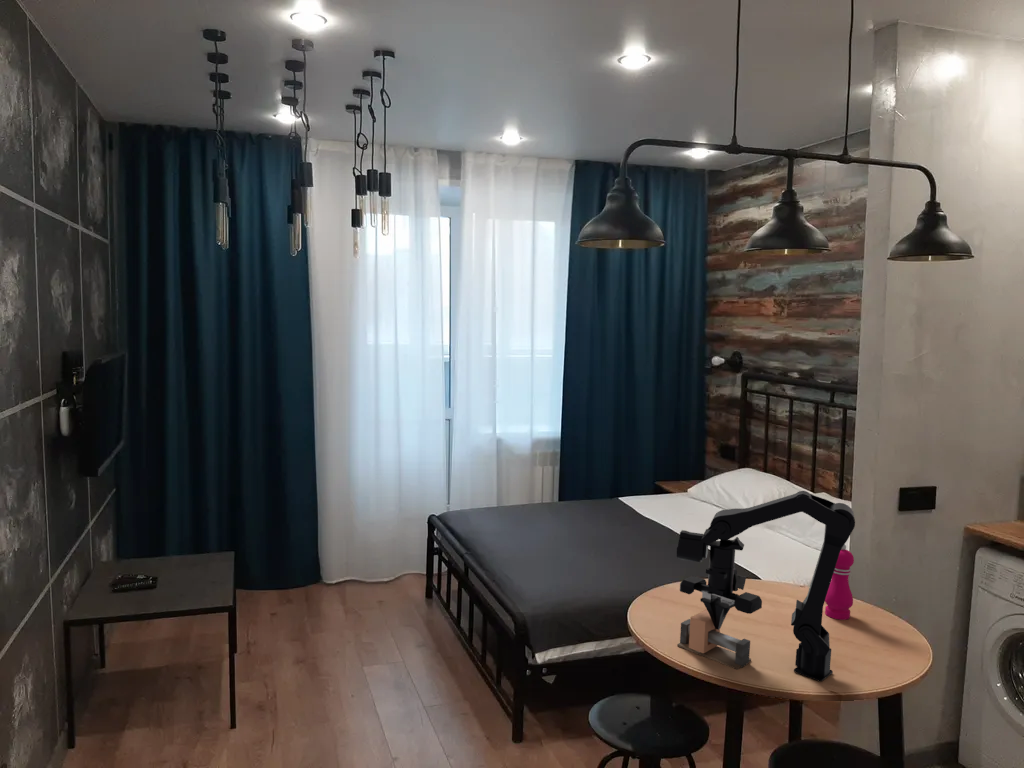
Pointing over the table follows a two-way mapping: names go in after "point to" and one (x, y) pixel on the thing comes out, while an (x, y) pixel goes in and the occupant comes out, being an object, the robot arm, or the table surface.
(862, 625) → the table surface
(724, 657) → the rail
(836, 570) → the pepper mill
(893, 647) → the table surface
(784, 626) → the table surface
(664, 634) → the table surface
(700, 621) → the collar
